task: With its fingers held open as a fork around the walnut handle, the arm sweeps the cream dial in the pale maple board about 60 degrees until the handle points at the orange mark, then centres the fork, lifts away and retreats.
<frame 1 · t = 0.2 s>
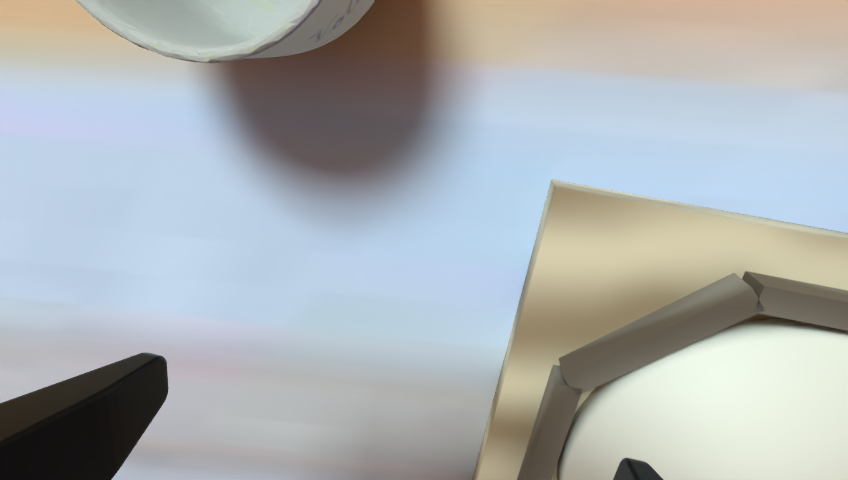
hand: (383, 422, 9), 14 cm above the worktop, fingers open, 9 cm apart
dial base: (729, 454, 25), on the worktop
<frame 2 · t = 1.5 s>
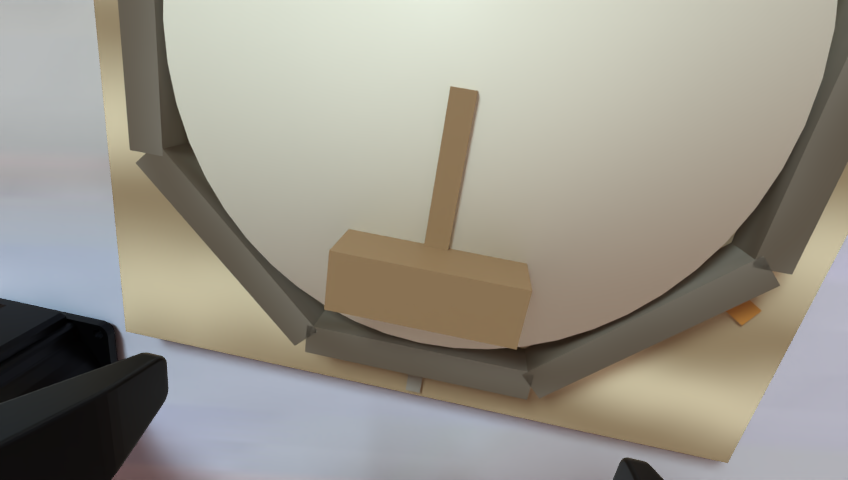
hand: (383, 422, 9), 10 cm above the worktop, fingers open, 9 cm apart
dial base: (471, 70, 16), on the worktop
dial: (467, 70, 13), point 3 cm above the worktop, hinge at 0.0°
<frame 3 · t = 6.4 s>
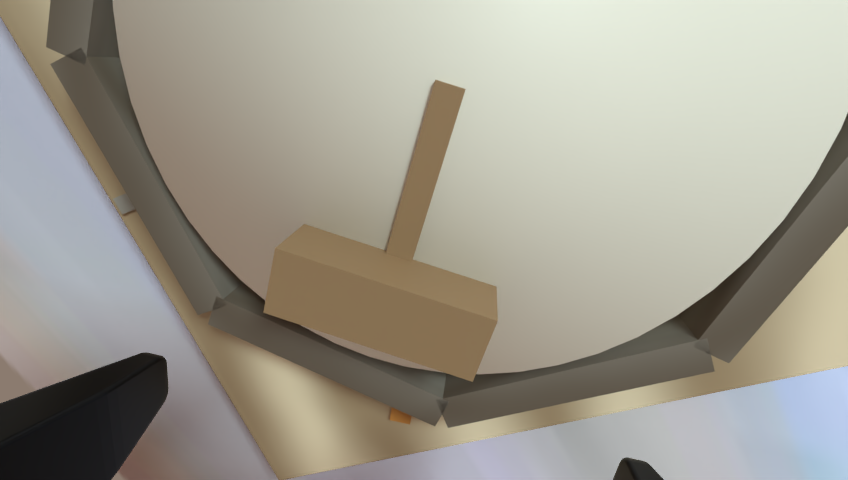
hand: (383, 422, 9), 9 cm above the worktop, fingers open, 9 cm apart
dial base: (463, 65, 15), on the worktop
dial: (456, 64, 11), point 3 cm above the worktop, hinge at 52.3°
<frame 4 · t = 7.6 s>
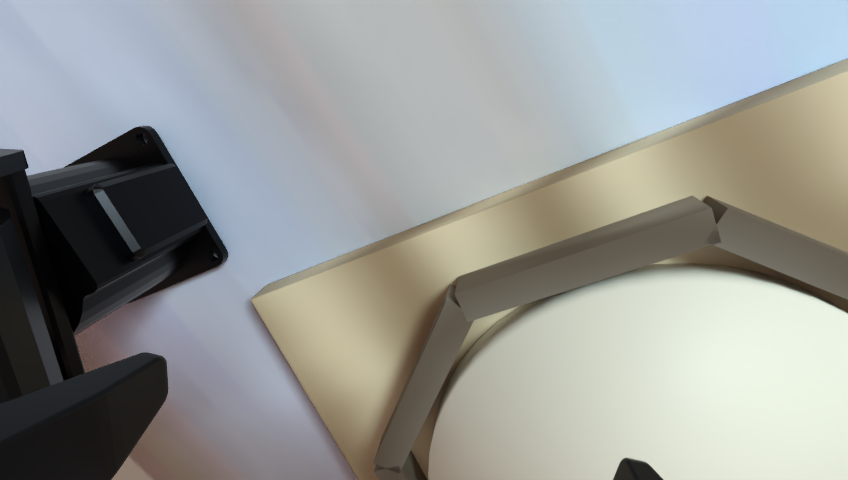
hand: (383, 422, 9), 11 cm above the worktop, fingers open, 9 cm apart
dial base: (642, 439, 21), on the worktop
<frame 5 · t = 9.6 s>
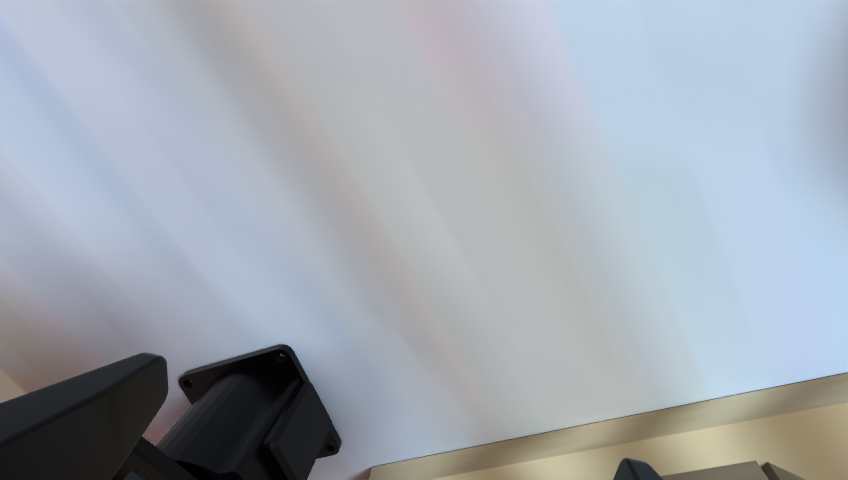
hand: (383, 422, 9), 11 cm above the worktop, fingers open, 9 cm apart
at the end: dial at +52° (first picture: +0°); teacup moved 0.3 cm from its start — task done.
